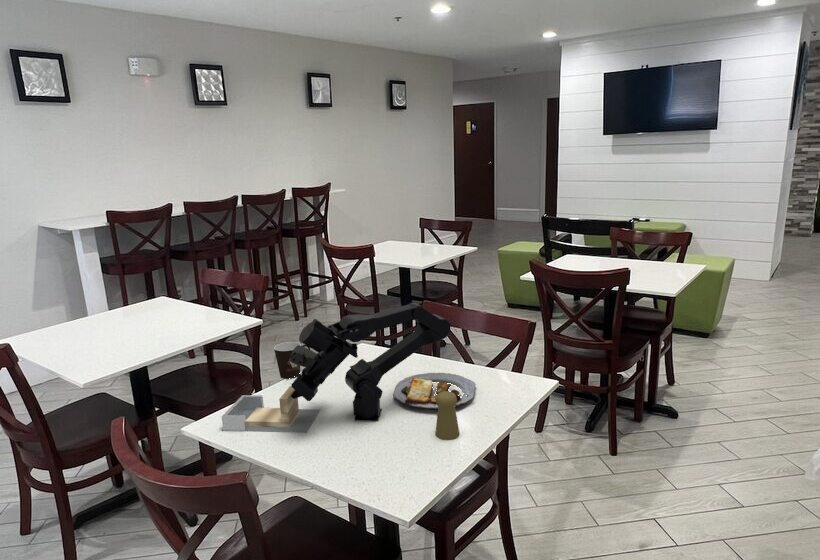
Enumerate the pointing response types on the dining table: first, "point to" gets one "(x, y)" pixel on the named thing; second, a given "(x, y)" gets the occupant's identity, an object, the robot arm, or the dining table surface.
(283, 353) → the coffee mug
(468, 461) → the dining table surface
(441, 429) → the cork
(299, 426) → the rubber mat
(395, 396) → the food plate
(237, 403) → the frame
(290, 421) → the menu stand
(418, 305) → the robot arm
